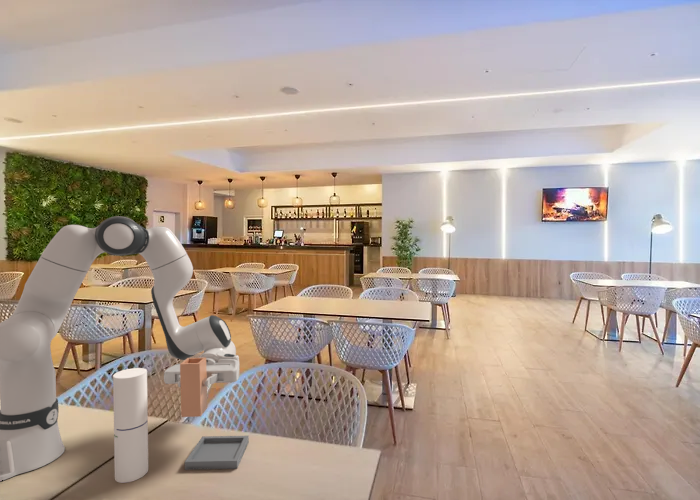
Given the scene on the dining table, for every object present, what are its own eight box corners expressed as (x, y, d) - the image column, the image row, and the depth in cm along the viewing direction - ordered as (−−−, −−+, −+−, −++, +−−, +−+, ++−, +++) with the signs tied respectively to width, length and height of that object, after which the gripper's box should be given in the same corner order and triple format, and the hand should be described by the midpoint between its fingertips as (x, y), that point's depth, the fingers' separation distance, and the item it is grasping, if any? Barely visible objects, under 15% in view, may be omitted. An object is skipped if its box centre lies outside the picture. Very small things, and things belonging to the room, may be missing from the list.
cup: (181, 417, 97) (180, 364, 96) (188, 408, 102) (187, 357, 101) (200, 416, 97) (199, 363, 97) (207, 407, 102) (206, 357, 102)
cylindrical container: (133, 484, 87) (131, 379, 87) (107, 480, 89) (105, 377, 88) (154, 466, 94) (153, 369, 94) (130, 462, 96) (129, 367, 95)
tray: (184, 469, 93) (184, 461, 93) (202, 443, 105) (202, 436, 105) (237, 468, 93) (237, 460, 93) (248, 442, 105) (248, 435, 105)
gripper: (175, 356, 112) (152, 373, 98) (243, 355, 112) (230, 371, 99) (175, 376, 112) (153, 396, 98) (244, 375, 113) (231, 394, 99)
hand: (192, 384), depth 98 cm, fingers closed on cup, 5 cm apart
